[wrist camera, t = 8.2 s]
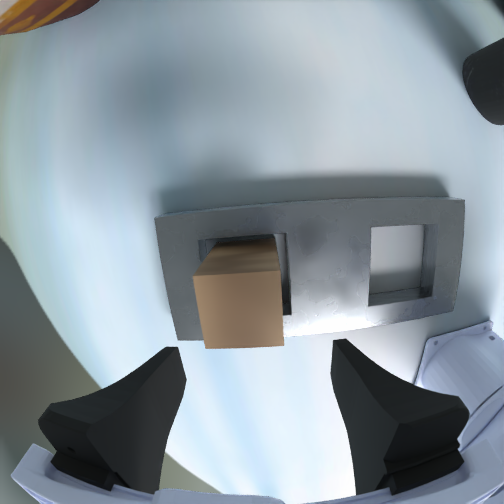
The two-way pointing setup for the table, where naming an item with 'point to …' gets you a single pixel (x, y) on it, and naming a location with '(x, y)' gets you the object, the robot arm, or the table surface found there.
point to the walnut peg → (240, 295)
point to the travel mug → (487, 81)
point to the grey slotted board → (321, 259)
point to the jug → (37, 13)
